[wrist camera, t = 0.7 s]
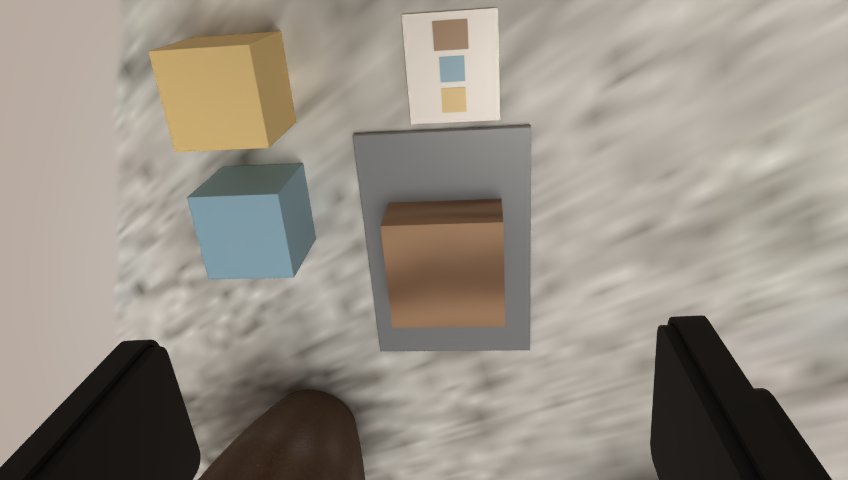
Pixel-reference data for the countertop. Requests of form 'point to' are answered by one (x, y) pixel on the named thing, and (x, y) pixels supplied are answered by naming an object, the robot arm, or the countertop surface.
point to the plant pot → (295, 443)
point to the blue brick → (253, 221)
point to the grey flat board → (443, 181)
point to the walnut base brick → (445, 263)
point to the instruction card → (452, 65)
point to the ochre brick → (224, 91)
